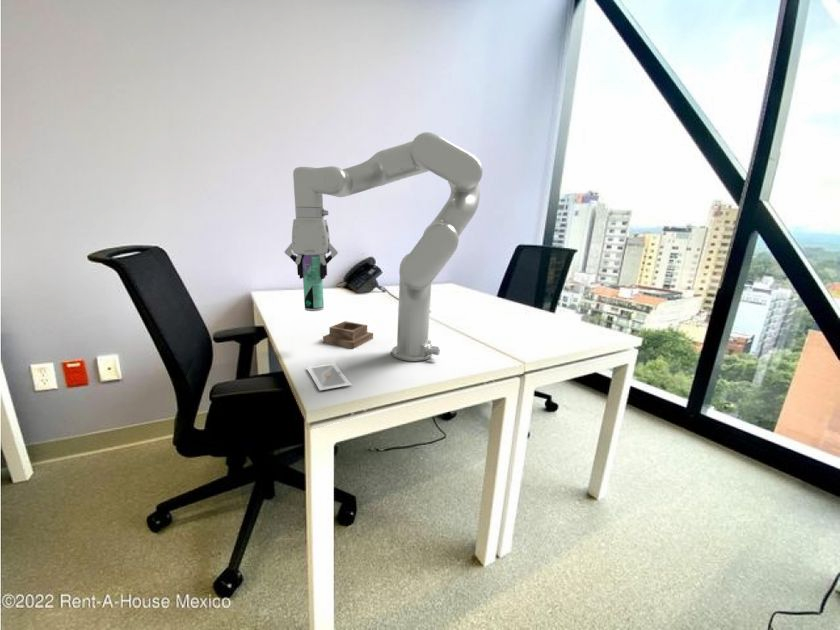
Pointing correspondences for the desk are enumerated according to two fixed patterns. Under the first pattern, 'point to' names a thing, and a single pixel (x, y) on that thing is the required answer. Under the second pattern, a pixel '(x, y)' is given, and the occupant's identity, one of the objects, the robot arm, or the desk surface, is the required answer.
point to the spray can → (312, 281)
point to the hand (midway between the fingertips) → (312, 277)
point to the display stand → (348, 335)
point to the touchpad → (328, 376)
